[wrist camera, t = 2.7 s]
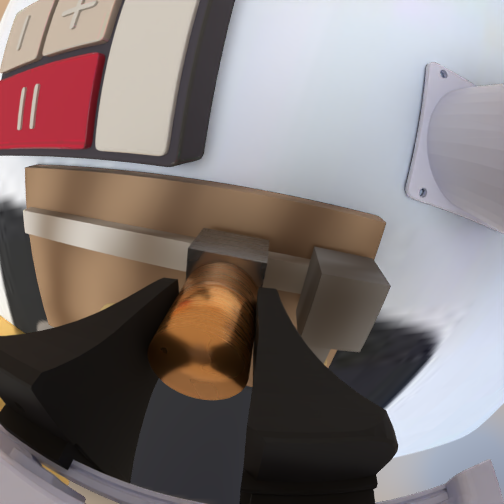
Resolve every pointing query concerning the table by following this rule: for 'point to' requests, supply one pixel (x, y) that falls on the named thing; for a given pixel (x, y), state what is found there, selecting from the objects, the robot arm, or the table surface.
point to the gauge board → (183, 234)
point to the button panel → (112, 79)
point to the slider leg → (212, 317)
